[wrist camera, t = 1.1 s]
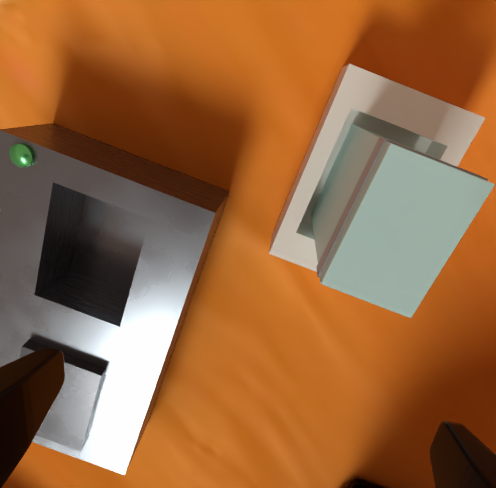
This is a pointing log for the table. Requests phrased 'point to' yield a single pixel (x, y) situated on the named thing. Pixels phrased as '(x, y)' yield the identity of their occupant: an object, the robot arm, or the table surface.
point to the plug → (390, 219)
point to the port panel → (97, 278)
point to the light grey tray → (378, 121)
